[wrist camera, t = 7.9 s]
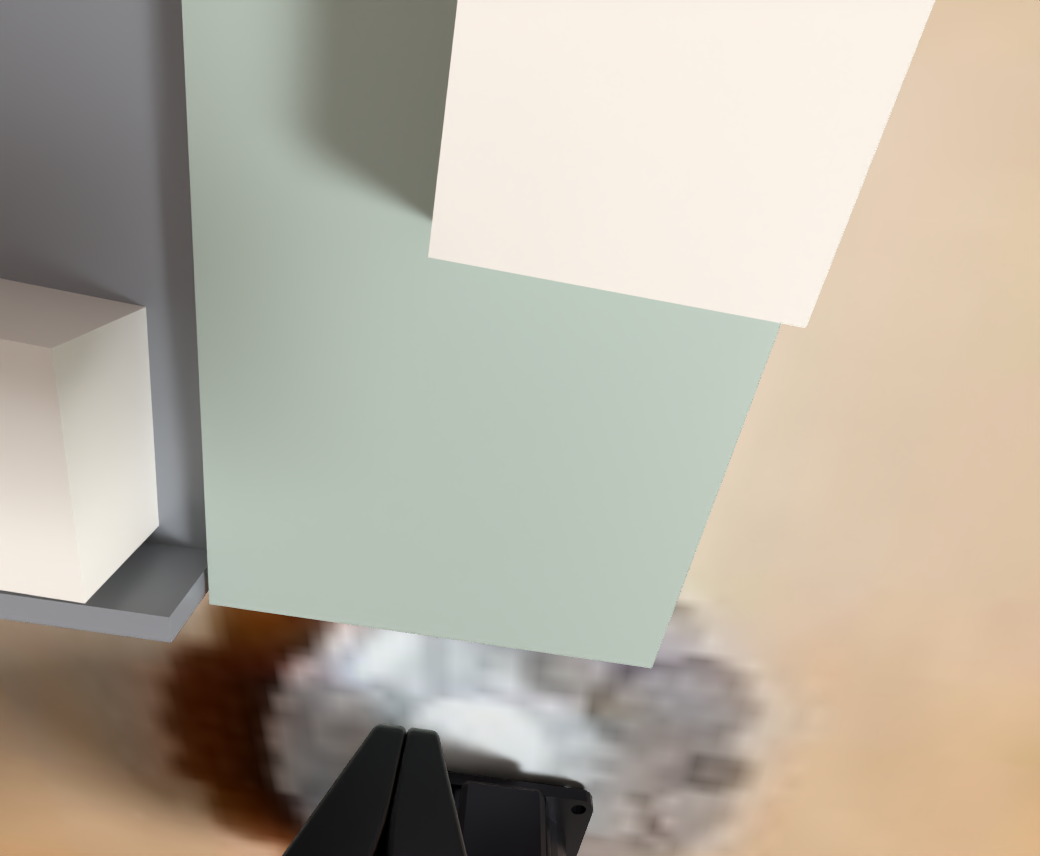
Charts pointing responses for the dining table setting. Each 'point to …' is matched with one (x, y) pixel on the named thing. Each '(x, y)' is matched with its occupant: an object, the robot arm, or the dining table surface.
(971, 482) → the dining table surface
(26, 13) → the tray
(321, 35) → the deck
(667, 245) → the tile
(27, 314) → the tile
